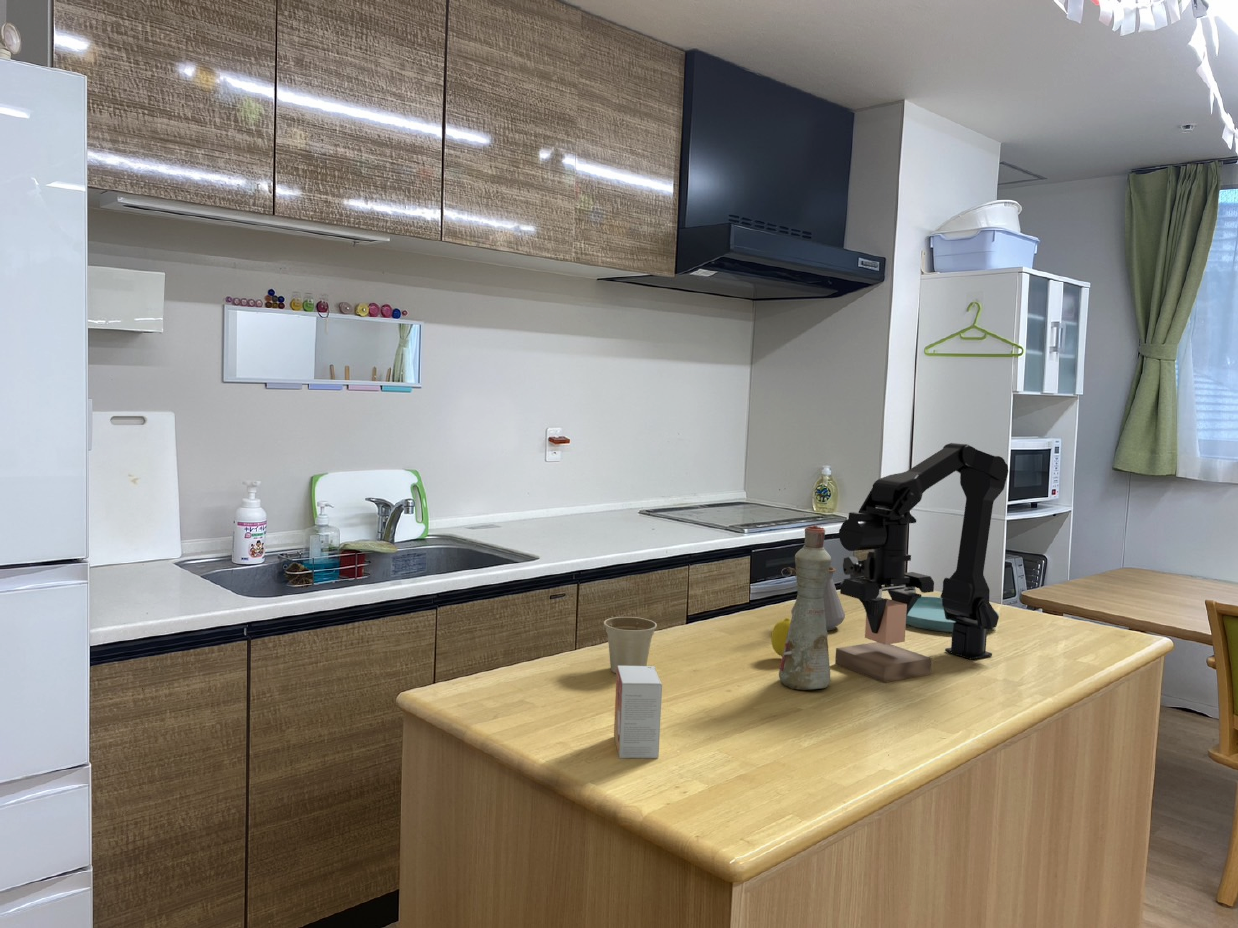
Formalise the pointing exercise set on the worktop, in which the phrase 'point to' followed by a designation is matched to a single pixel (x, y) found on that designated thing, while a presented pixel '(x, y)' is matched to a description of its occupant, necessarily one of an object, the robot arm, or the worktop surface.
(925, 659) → the walnut base
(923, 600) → the saucer
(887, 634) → the terracotta block
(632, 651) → the flower pot
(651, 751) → the small box
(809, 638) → the bottle
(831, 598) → the coffee pot
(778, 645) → the lemon
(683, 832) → the worktop surface
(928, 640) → the worktop surface
